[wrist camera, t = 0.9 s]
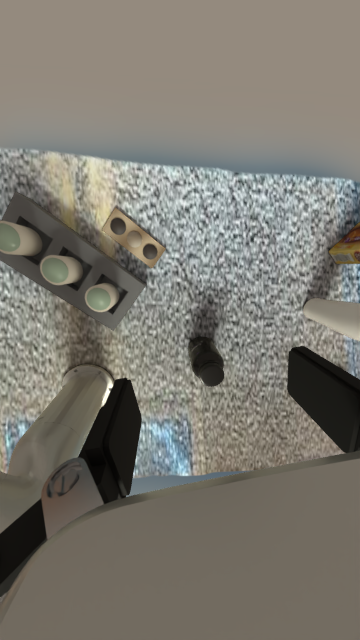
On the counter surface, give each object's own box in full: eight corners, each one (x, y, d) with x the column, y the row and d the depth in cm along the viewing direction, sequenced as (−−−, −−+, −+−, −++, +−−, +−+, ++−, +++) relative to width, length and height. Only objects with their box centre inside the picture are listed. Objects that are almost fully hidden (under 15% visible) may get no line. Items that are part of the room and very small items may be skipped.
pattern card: (165, 249, 37) (165, 248, 36) (152, 268, 38) (151, 268, 37) (116, 208, 34) (115, 207, 34) (102, 230, 35) (101, 229, 34)
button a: (111, 311, 36) (103, 317, 32) (90, 297, 35) (79, 301, 31) (123, 292, 35) (118, 296, 31) (102, 277, 34) (93, 279, 30)
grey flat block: (146, 284, 39) (145, 286, 36) (117, 325, 41) (113, 330, 38) (30, 198, 33) (15, 191, 29) (3, 252, 35) (-14, 251, 32)
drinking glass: (322, 289, 43) (401, 302, 29) (326, 314, 45) (402, 336, 31) (296, 301, 43) (361, 319, 29) (301, 324, 45) (364, 352, 31)
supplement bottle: (191, 333, 43) (201, 357, 32) (217, 338, 44) (235, 363, 33) (184, 357, 45) (190, 388, 34) (209, 362, 46) (223, 393, 35)
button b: (75, 287, 34) (61, 291, 30) (51, 272, 33) (34, 273, 29) (87, 267, 34) (75, 267, 29) (63, 250, 32) (47, 248, 28)
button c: (35, 261, 32) (14, 260, 28) (8, 244, 31) (-18, 240, 27) (47, 239, 32) (27, 234, 27) (20, 220, 30) (-5, 212, 26)
